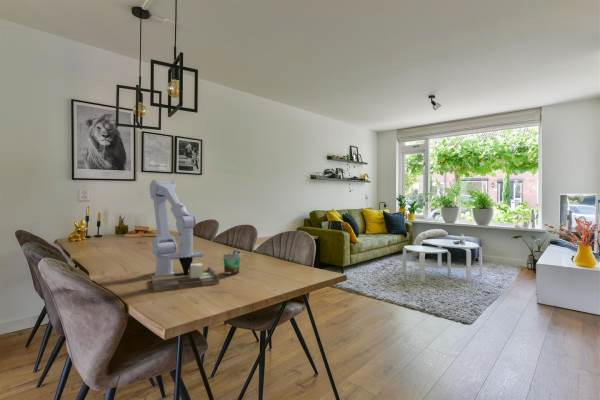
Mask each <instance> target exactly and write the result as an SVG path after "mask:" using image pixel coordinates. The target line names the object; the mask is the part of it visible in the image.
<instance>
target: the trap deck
mask: <svg viewBox="0 0 600 400" xmlns="http://www.w3.org/2000/svg"><path fill="white" fill-rule="evenodd" d="M150 278H151V279H150V280H151V284H152V288H153V292H154V293H156V292H157V293H158V292H165V291H166V292H167V291H172V290H181V289H188V288H189V289H190V288H196V287H197V288H198V287H204V286H211V285H219V284H220V275H219V274H218V273H217V272H216V271H215V270H214V269H213V268H212V267H211V266H207V269H206V270H205V269H203V277H198V278H190V276H189V271H188V276H184V272H183V271H182V272H174V273H173V274H164V275H155V274H154V275H151V277H150Z"/></svg>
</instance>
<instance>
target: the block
mask: <svg viewBox="0 0 600 400" xmlns="http://www.w3.org/2000/svg"><path fill="white" fill-rule="evenodd" d="M203 270H204V265H203V264H202V263H201V262H200V263H191V265H190V267H189V270H188V272H189V276H190V278H198V277H203Z"/></svg>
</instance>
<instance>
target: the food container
mask: <svg viewBox="0 0 600 400" xmlns="http://www.w3.org/2000/svg"><path fill="white" fill-rule="evenodd" d="M222 256H223V257H222V258H223V265H224V266H223V269H224V270H223V271H224V272H223V273H224V276H235V275H239V274H240V267H241V258H242V256H243V255H242V252H241V251H240V250H235V249H234V250H233V251H232V252H229V253H228V254H223V255H222ZM238 273H239V274H238Z"/></svg>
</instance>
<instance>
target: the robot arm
mask: <svg viewBox="0 0 600 400" xmlns="http://www.w3.org/2000/svg"><path fill="white" fill-rule="evenodd" d="M149 184H150V185H149V195H150V199H152V201H153V206H154V214H155V215H154V217H155V222H156V224H155V225H156V231H157V233H156V234H157V235H156V236H155V237H153V239H152V241H151V253H152V255H153V256H154V257H155V271H154V275H164V274H173V273H175V272H174V270H173V269H174V260H178V261H179V263H180V266H181V268H182V273H183V272H184V276H188V272H189V267H190V265H191V264H193V260H194V259H196V258H204V252H203V251H200V252H196V251H195V252H194V247H193V246H194V236H193V235H194V229H195V227H196V224H197V222H196V220H197V219H196V218H195V216H194V215H193V214H191V213H189V212H188V209H187V208H186V206H185V204H184V203H182V202H180V201H179V200H180V199H179V197H178V195H177V194H176V188H177V187H176V183H175V181H173V180H160V179H159V180H157V179H153V180H152V181H151V182H150V183H149ZM167 201H168V202H169V204H170V205H171V209H170V210H171V212H172V215H173V216H174V218H175V220H176V221H175V227H176V231H177V234H178V245H177V242H176V238H175V236H173V235H172V234H171V233H170V229H169V221H168V213H167V203H166V202H167ZM177 250H178V253H176V252H177Z"/></svg>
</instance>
